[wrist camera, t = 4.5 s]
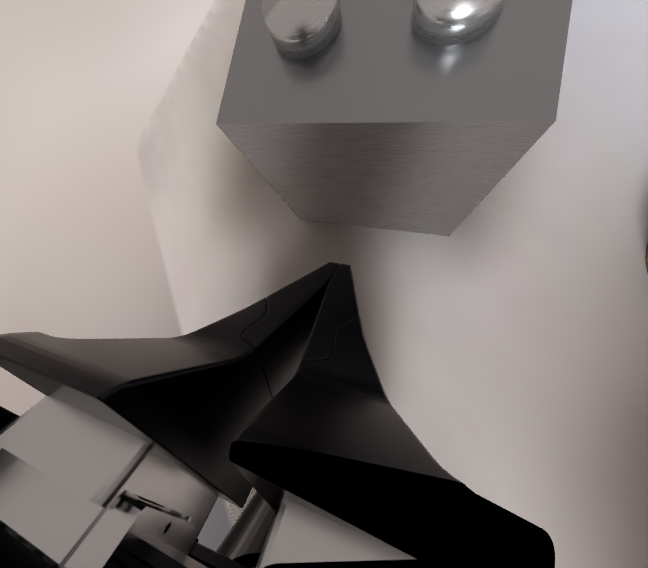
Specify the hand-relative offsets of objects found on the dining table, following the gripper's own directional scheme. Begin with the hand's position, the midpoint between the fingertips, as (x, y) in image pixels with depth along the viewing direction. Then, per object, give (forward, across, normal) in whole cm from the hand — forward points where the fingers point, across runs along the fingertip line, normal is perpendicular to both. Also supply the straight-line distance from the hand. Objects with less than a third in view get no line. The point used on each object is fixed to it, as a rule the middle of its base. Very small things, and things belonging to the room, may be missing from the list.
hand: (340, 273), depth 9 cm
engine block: (+12, 0, -3) cm, 12 cm away
